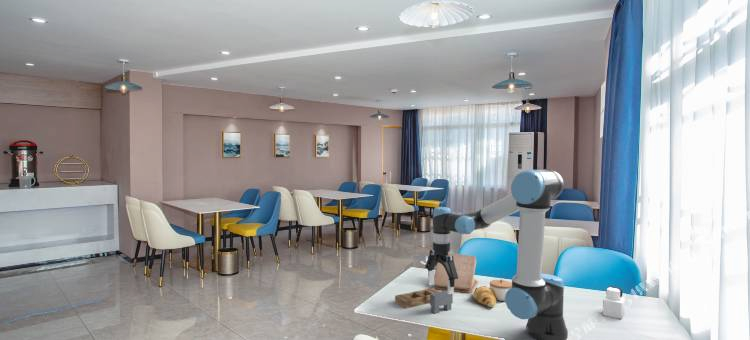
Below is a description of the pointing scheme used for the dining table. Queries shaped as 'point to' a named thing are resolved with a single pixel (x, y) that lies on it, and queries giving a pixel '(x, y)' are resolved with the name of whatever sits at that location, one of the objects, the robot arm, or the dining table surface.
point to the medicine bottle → (614, 303)
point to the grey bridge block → (440, 301)
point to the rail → (415, 298)
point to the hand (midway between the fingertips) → (440, 289)
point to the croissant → (485, 296)
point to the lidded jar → (500, 288)
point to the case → (464, 271)
